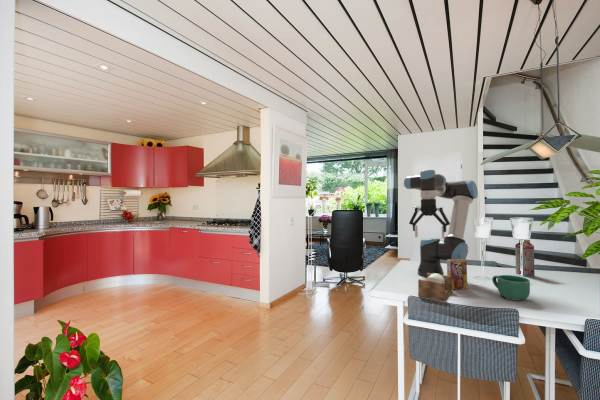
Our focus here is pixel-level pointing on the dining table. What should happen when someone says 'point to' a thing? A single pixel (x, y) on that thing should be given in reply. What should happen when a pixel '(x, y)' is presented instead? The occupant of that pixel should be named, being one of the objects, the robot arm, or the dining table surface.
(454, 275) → the candy box
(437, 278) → the roll
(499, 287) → the mug
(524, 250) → the juice carton
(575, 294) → the dining table surface
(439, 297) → the cradle
